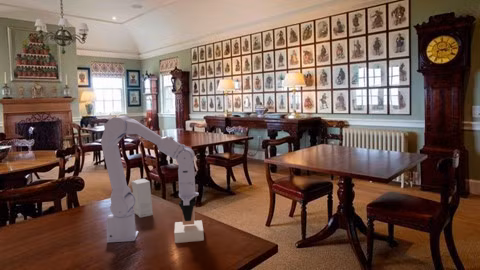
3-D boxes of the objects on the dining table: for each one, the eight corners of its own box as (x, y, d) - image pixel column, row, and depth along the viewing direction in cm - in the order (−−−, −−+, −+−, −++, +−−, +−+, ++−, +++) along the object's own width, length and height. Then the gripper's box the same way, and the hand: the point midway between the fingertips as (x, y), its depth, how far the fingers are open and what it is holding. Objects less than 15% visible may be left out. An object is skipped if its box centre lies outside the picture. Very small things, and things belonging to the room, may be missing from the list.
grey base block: (174, 244, 118) (174, 233, 117) (175, 232, 127) (175, 222, 127) (203, 241, 119) (203, 230, 119) (202, 230, 129) (201, 220, 129)
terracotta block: (182, 224, 120) (182, 211, 120) (183, 220, 124) (182, 207, 124) (194, 224, 121) (193, 210, 120) (194, 220, 125) (193, 207, 124)
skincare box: (153, 215, 145) (151, 181, 143) (139, 218, 142) (137, 183, 140) (146, 210, 152) (145, 177, 150) (133, 212, 149) (131, 179, 147)
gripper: (197, 186, 114) (199, 225, 116) (198, 176, 128) (199, 210, 130) (176, 187, 113) (178, 226, 115) (179, 177, 128) (181, 211, 129)
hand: (188, 218), depth 122 cm, fingers closed on terracotta block, 4 cm apart
